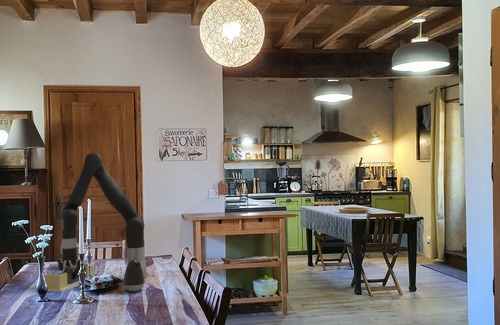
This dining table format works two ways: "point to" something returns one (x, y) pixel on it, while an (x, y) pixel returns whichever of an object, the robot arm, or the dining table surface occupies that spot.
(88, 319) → the dining table surface
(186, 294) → the dining table surface
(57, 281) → the bracket board
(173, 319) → the dining table surface
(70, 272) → the rail
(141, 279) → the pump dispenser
